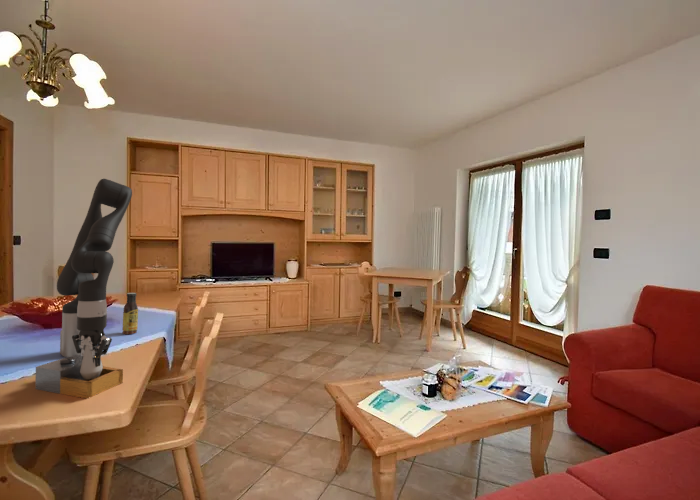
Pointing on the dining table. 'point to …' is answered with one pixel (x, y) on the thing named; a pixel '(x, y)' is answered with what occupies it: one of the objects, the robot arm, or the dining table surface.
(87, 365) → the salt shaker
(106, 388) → the wooden open box
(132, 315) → the sauce bottle
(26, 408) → the dining table surface
